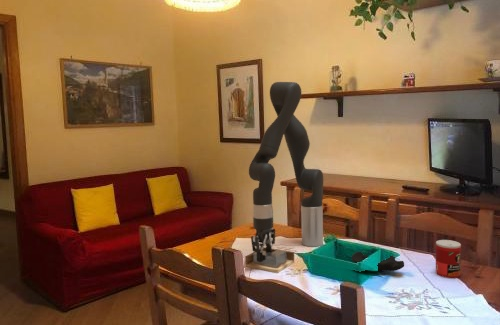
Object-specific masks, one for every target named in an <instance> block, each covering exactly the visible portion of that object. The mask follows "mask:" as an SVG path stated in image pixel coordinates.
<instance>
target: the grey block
mask: <svg viewBox="0 0 500 325" xmlns="http://www.w3.org/2000/svg"><path fill="white" fill-rule="evenodd" d="M283 250H284V249H278V250H276V251H274V252H266V251H262V252H263V262H258V261H257V253H256V252H255V253H253V252H252V253H253V262H254V264H259V265H264V266H269V267H274V268H277V267H279V266H280V265H282V264H283V263H285V262H287V251H288V250H284V251H283Z"/></svg>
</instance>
